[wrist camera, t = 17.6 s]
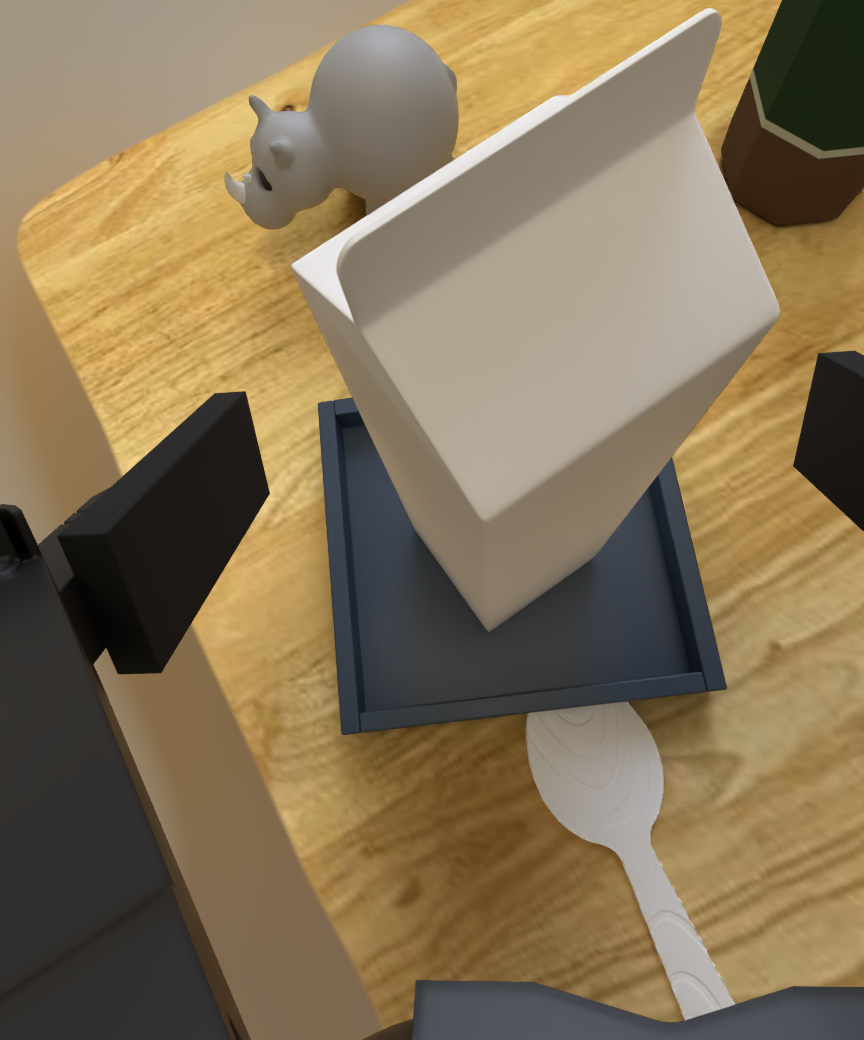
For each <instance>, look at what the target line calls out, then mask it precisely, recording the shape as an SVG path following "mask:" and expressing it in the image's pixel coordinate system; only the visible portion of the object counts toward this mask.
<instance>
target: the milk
mask: <svg viewBox="0 0 864 1040" xmlns="http://www.w3.org/2000/svg"><path fill="white" fill-rule="evenodd" d="M720 30H721V15H720V14H719V13H718V12H717V11H716V10H715V9H712V8H707V9H705V10H703V11H701V12H700V13H698V14H696V15H695V16H693V17H692V18H690V19H689V20H687V21H685V22H684V23H682V24H681V25H679V26H678V27H676V28H675V29H673V30H671V31H670V32H668V33H667V34H665V35H664V36H662V37H660V38H659V39H657V40H656V41H654V42H653V43H651V44H650V45H648V46H646V47H645V48H643V49H642V50H640V51H639V52H637V53H636V54H634V55H632V56H631V57H629V58H628V59H626V60H625V61H623V62H622V63H620V64H618V65H617V66H615V67H614V68H612V69H611V70H609V71H608V72H606V73H604V74H603V75H601V76H600V77H598V78H597V79H595V80H594V81H592V82H590V83H589V84H587V85H586V86H584V87H583V88H581V89H579V90H578V91H576V92H575V93H573V94H572V95H570V96H564V95H557V96H554V97H552V98H550V99H549V100H547V101H545V102H544V103H542V104H541V105H539V106H538V107H536V108H534V109H533V110H531V111H530V112H528V113H527V114H525V115H523V116H522V117H520V118H519V119H517V120H516V121H514V122H513V123H511V124H509V125H508V126H506V127H505V128H503V129H502V130H500V131H499V132H497V133H495V134H494V135H492V136H491V137H489V138H488V139H486V140H484V141H483V142H481V143H480V144H478V145H477V146H475V147H474V148H472V149H470V150H469V151H467V152H466V153H464V154H463V155H461V156H459V157H458V158H456V159H455V160H453V161H452V162H450V163H449V164H447V165H445V166H444V167H442V168H441V169H439V170H438V171H436V172H434V173H433V174H431V175H430V176H428V177H427V178H425V179H424V180H422V181H420V182H419V183H417V184H416V185H414V186H413V187H411V188H410V189H408V190H406V191H405V192H403V193H402V194H400V195H399V196H397V197H395V198H394V199H392V200H391V201H389V202H388V203H386V204H385V205H383V206H381V207H380V208H378V209H377V210H375V211H374V212H372V213H370V214H369V215H367V216H366V217H364V218H363V219H361V220H360V221H358V222H356V223H355V224H353V225H352V226H350V227H349V228H347V229H345V230H344V231H342V232H341V233H339V234H338V235H336V236H335V237H333V238H331V239H330V240H328V241H327V242H325V243H324V244H322V245H321V246H319V247H317V248H316V249H314V250H313V251H311V252H310V253H308V254H306V255H305V256H303V257H302V258H300V259H299V260H297V261H296V262H294V263H293V264H292V265H291V269H292V271H293V273H294V276H295V278H296V280H297V282H298V284H299V286H300V288H301V290H302V292H303V295H304V297H305V299H306V301H307V303H308V305H309V307H310V309H311V311H312V314H313V316H314V318H315V320H316V322H317V324H318V326H319V328H320V330H321V333H322V335H323V337H324V339H325V341H326V343H327V345H328V347H329V349H330V352H331V354H332V356H333V358H334V360H335V362H336V364H337V366H338V368H339V371H340V373H341V375H342V377H343V379H344V381H345V383H346V385H347V387H348V390H349V392H350V394H351V396H352V398H353V400H354V402H355V404H356V406H357V409H358V411H359V413H360V415H361V417H362V419H363V421H364V423H365V425H366V428H367V430H368V432H369V434H370V436H371V438H372V440H373V442H374V444H375V447H376V449H377V451H378V453H379V455H380V457H381V459H382V461H383V463H384V466H385V468H386V470H387V472H388V474H389V476H390V478H391V480H392V482H393V485H394V487H395V489H396V491H397V493H398V495H399V497H400V499H401V501H402V504H403V506H404V508H405V510H406V512H407V514H408V516H409V518H410V520H411V523H412V525H413V527H414V529H415V530H416V532H417V533H418V535H419V536H420V538H421V539H422V540H423V542H424V543H425V545H426V546H427V547H428V549H429V550H430V552H431V553H432V554H433V556H434V557H435V559H436V560H437V561H438V563H439V564H440V566H441V567H442V568H443V570H444V571H445V573H446V574H447V575H448V577H449V578H450V580H451V581H452V582H453V584H454V585H455V587H456V588H457V589H458V591H459V592H460V594H461V595H462V596H463V598H464V599H465V601H466V602H467V603H468V605H469V606H470V608H471V609H472V610H473V612H474V613H475V615H476V616H477V617H478V619H479V620H480V622H481V623H482V624H483V626H484V627H485V629H486V630H487V631H488V632H490V631H492V630H493V629H495V628H496V627H498V626H499V625H500V624H502V623H503V622H505V621H506V620H507V619H509V618H510V617H512V616H513V615H514V614H516V613H517V612H519V611H520V610H521V609H523V608H524V607H526V606H527V605H528V604H530V603H531V602H533V601H534V600H535V599H537V598H538V597H539V596H541V595H542V594H544V593H545V592H546V591H548V590H549V589H551V588H552V587H553V586H555V585H556V584H558V583H559V582H560V581H562V580H563V579H565V578H566V577H567V576H569V575H570V574H572V573H573V572H574V571H576V570H577V569H579V568H580V567H581V566H583V565H584V564H586V563H587V562H588V561H590V560H591V559H592V558H594V557H595V556H596V554H597V553H598V552H599V551H600V549H601V548H602V547H603V545H604V544H605V543H606V542H607V540H608V539H609V538H610V536H611V535H612V534H613V532H614V531H615V530H616V529H617V527H618V526H619V525H620V523H621V522H622V521H623V519H624V518H625V517H626V516H627V514H628V513H629V512H630V510H631V509H632V508H633V507H634V505H635V504H636V503H637V501H638V500H639V499H640V497H641V496H642V495H643V494H644V492H645V491H646V490H647V488H648V487H649V486H650V484H651V483H652V482H653V481H654V479H655V478H656V477H657V475H658V474H659V473H660V472H661V470H662V469H663V468H664V466H665V465H666V464H667V462H668V461H669V460H670V459H671V457H672V456H673V455H674V453H675V452H676V451H677V449H678V448H679V447H680V446H681V444H682V443H683V442H684V440H685V439H686V438H687V437H688V435H689V434H690V433H691V431H692V430H693V429H694V427H695V426H696V425H697V424H698V422H699V421H700V420H701V418H702V417H703V416H704V414H705V413H706V412H707V411H708V409H709V408H710V407H711V405H712V404H713V403H714V402H715V400H716V399H717V398H718V396H719V395H720V394H721V392H722V391H723V390H724V389H725V387H726V386H727V385H728V383H729V382H730V381H731V379H732V378H733V377H734V376H735V374H736V373H737V372H738V370H739V369H740V368H741V367H742V365H743V364H744V363H745V361H746V360H747V359H748V357H749V356H750V355H751V354H752V352H753V351H754V350H755V348H756V347H757V346H758V344H759V343H760V342H761V341H762V339H763V338H764V337H765V335H766V334H767V333H768V332H769V330H770V329H771V328H772V326H773V325H774V324H775V322H776V321H777V319H778V318H779V316H780V308H779V304H778V302H777V299H776V297H775V294H774V292H773V290H772V287H771V285H770V283H769V281H768V278H767V276H766V274H765V271H764V269H763V267H762V265H761V262H760V260H759V258H758V255H757V253H756V251H755V249H754V246H753V244H752V242H751V240H750V237H749V235H748V233H747V230H746V228H745V226H744V224H743V221H742V219H741V217H740V214H739V212H738V210H737V208H736V205H735V203H734V201H733V198H732V196H731V194H730V192H729V189H728V187H727V185H726V182H725V180H724V178H723V176H722V173H721V171H720V169H719V166H718V164H717V162H716V160H715V157H714V155H713V153H712V151H711V148H710V146H709V144H708V141H707V139H706V137H705V135H704V132H703V130H702V128H701V125H700V123H699V121H698V118H697V116H696V113H695V105H696V101H697V98H698V95H699V92H700V89H701V86H702V83H703V80H704V77H705V74H706V72H707V69H708V66H709V63H710V60H711V57H712V54H713V51H714V48H715V45H716V42H717V39H718V36H719V33H720Z"/></svg>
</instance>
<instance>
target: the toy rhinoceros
mask: <svg viewBox="0 0 864 1040" xmlns="http://www.w3.org/2000/svg"><path fill="white" fill-rule="evenodd" d="M456 90H457V80H456V76H455V74H454V72H453V71H452V70H451V69H450V68H449V67H448V66H446V65H445V64H444V63H443V62H442V61H441V59H440V58H439V56H438V55H437V54H436V52H435V51H434V50H433V49H432V48H431V47H430V46H429V45H428V44H427V43H426V42H424V41H423V40H422V39H421V38H419V37H418V36H416V35H415V34H413V33H411V32H409V31H407V30H404V29H402V28H399V27H394V26H389V25H372V26H366V27H362V28H359V29H357V30H355V31H352V32H350V33H349V34H347V35H345V36H344V37H342V38H341V39H340V40H339V41H338V42H336V43H335V44H334V45H333V46H332V47H331V49H330V50H329V51H328V52H327V53H326V55H325V56H324V58H323V59H322V61H321V63H320V65H319V66H318V69H317V71H316V73H315V76H314V79H313V82H312V87H311V92H310V99H309V104H308V107H307V110H306V111H304V112H295V111H282V112H274V111H272V110H271V109H270V108H269V107H268V106H267V105H266V104H265V103H264V102H263V101H262V100H260V99H259V98H258V97H256V96H253V95H250V96H249V104H250V106H251V108H252V109H253V110H254V112H255V113H256V115H257V116H258V119H259V121H258V125H257V128H256V130H255V133H254V135H253V136H252V138H251V140H250V148H251V154H252V169H251V170H250V172H249V174H244V175H243V179H244V181H243V182H242V183H241V182H237V181H235V180H234V179H232V178H231V176H230V175H229V173H228V172H226V173H225V186H226V189H227V191H228V193H229V194H230V195H231V196H232V197H233V198H234V199H235V200H236V201H237V202H239V203H240V204H241V206H242V207H243V209H244V211H245V213H246V214H247V215H248V216H249V217H250V219H251V220H252V221H253V222H254V223H256V224H257V225H259V226H260V227H263V228H266V229H271V230H274V229H280V228H282V227H284V226H286V225H288V224H289V223H290V222H291V221H292V219H293V218H294V216H295V215H296V213H297V212H299V211H302V210H305V209H309V208H313V207H316V206H318V205H319V204H321V203H322V202H324V201H325V200H326V199H327V197H328V196H329V194H330V193H331V191H332V190H333V189H335V188H344V189H346V190H348V191H349V192H351V193H353V194H355V195H356V196H359V197H361V198H363V199H365V201H366V216H367V215H369V214H370V213H372V212H374V211H375V210H377V209H378V208H380V207H381V206H383V205H385V204H386V203H388V202H389V201H391V200H392V199H394V198H395V197H397V196H399V195H400V194H402V193H403V192H405V191H406V190H408V189H410V188H411V187H413V186H414V185H416V184H417V183H419V182H420V181H422V180H424V179H425V178H427V177H428V176H430V175H431V174H433V173H434V172H436V171H438V170H439V169H441V168H442V167H444V166H445V165H447V164H449V163H450V162H452V161H453V160H454V159H453V157H452V152H453V149H454V146H455V143H456V138H457V133H458V121H459V114H458V103H457V95H456Z"/></svg>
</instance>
